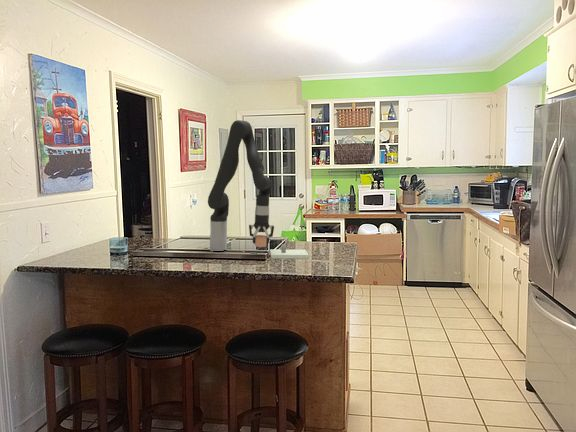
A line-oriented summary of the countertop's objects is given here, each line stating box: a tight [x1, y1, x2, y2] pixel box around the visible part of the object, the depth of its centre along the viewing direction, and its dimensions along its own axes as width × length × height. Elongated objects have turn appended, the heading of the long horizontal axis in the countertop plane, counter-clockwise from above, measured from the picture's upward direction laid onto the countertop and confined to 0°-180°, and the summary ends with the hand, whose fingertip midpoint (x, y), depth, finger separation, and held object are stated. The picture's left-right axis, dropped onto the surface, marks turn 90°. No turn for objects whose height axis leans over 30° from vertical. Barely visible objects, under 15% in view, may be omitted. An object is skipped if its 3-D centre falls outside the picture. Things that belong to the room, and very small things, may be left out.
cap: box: [254, 234, 267, 248], centre depth 261 cm, size 6×6×6 cm
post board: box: [269, 243, 310, 260], centre depth 262 cm, size 20×14×6 cm
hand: (260, 243), depth 261 cm, fingers closed on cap, 6 cm apart
